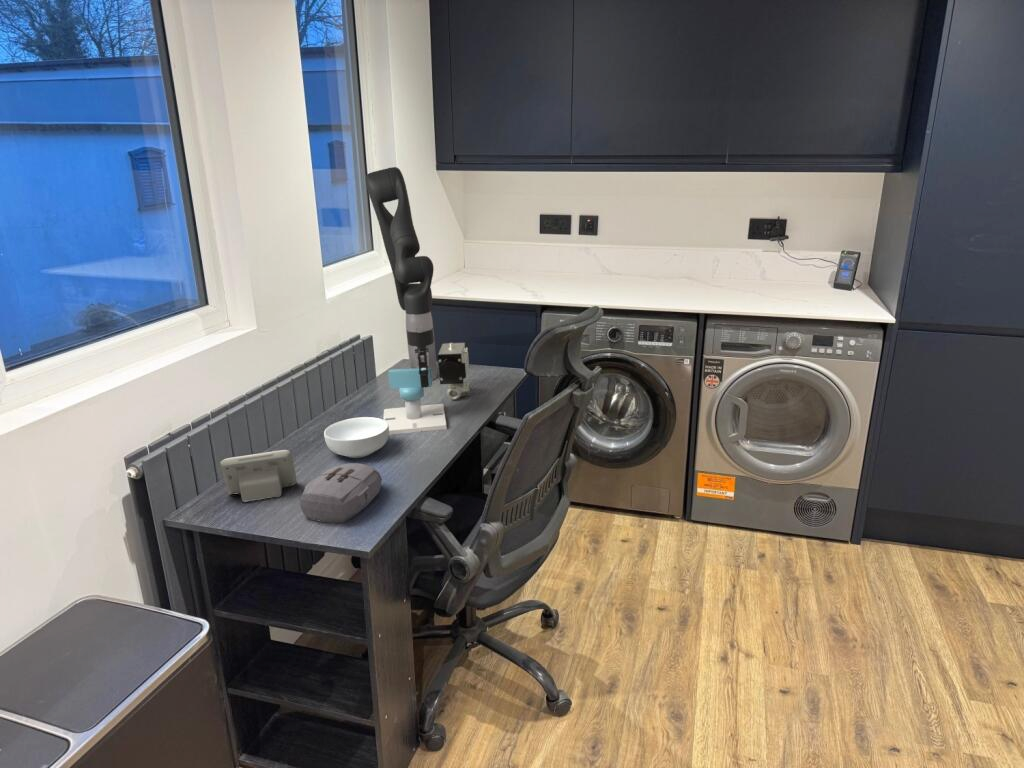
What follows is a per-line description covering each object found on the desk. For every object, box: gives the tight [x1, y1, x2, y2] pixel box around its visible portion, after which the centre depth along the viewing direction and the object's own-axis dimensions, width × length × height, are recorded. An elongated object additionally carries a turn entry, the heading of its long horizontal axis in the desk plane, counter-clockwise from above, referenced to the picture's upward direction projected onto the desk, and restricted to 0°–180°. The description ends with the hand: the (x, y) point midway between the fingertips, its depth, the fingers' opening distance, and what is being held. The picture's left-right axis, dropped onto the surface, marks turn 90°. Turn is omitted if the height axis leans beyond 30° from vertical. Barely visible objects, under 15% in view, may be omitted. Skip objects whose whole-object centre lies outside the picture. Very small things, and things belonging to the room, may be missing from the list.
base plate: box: [383, 398, 448, 436], centre depth 210 cm, size 18×18×8 cm
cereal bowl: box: [323, 416, 390, 459], centre depth 190 cm, size 17×17×7 cm
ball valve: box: [437, 341, 471, 401], centre depth 227 cm, size 18×8×18 cm, turn 179°
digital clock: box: [219, 449, 297, 501], centre depth 169 cm, size 16×9×11 cm, turn 94°
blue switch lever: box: [387, 368, 433, 401], centre depth 207 cm, size 12×7×8 cm, turn 90°
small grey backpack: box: [299, 462, 383, 524], centre depth 163 cm, size 15×8×20 cm
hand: (424, 382), depth 208 cm, fingers open, 6 cm apart
